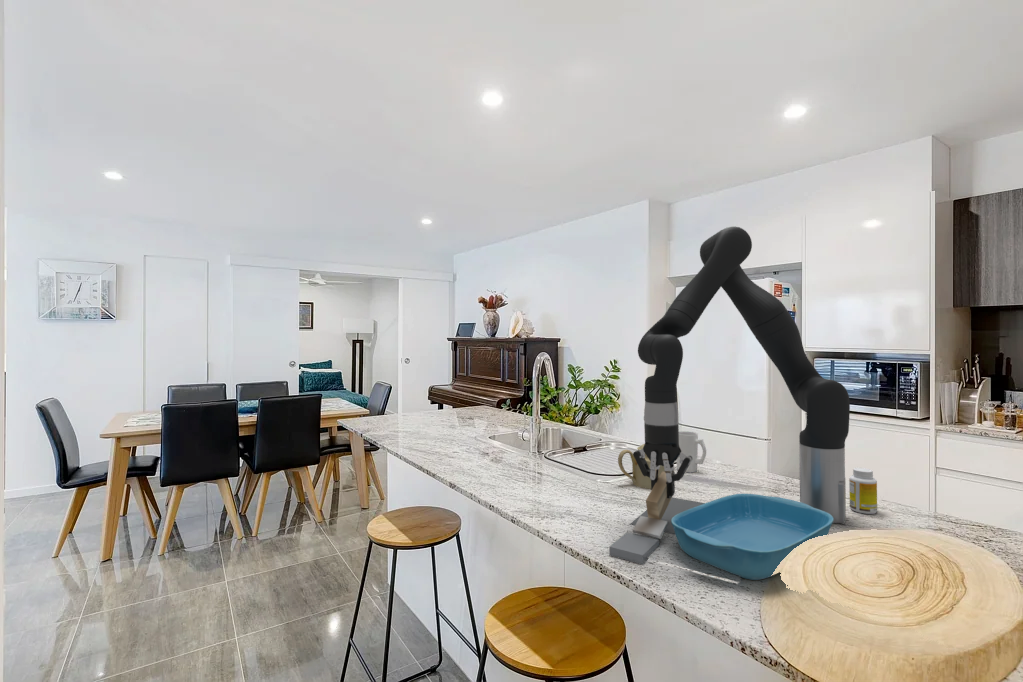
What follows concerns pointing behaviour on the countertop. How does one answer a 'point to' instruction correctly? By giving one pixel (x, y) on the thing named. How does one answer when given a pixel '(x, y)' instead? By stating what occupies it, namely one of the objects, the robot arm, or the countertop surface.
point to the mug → (691, 449)
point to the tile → (633, 547)
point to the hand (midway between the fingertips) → (662, 496)
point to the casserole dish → (748, 532)
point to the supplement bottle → (863, 491)
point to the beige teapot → (637, 470)
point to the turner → (654, 510)
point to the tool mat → (673, 511)
